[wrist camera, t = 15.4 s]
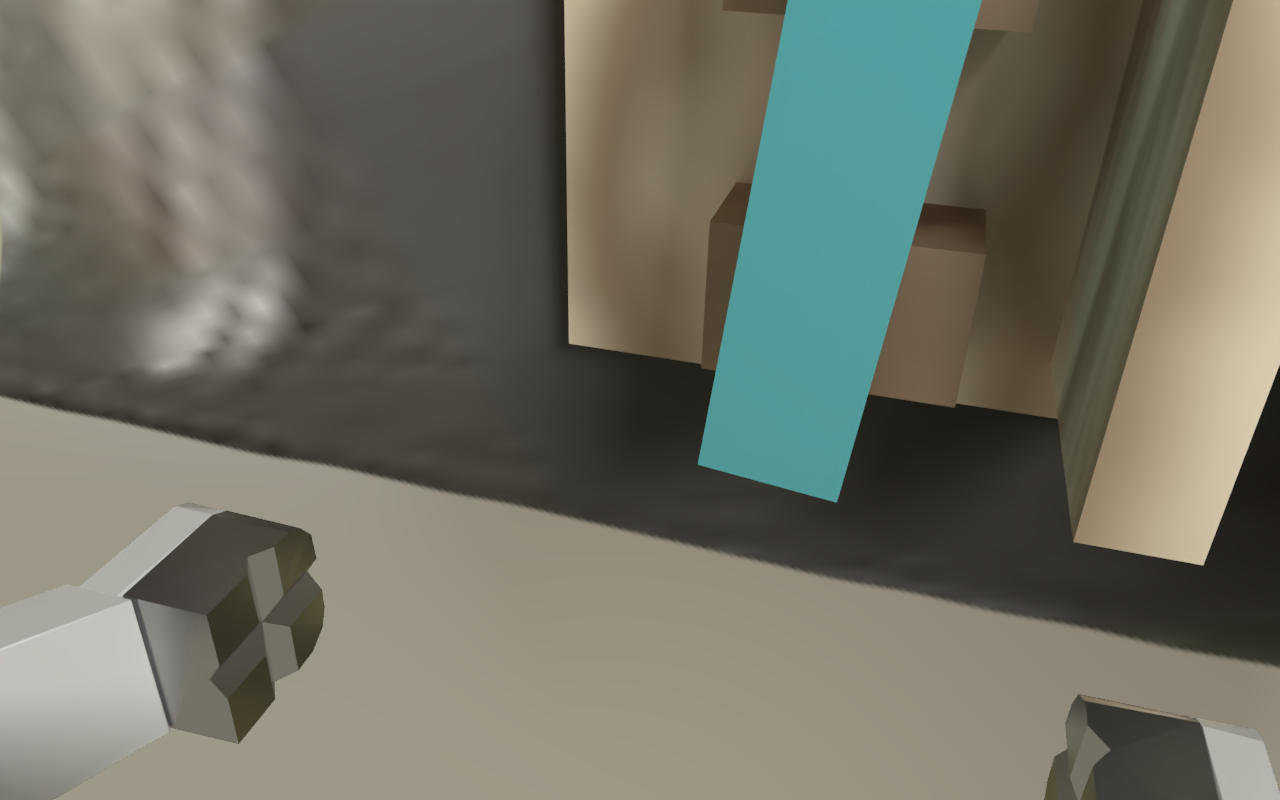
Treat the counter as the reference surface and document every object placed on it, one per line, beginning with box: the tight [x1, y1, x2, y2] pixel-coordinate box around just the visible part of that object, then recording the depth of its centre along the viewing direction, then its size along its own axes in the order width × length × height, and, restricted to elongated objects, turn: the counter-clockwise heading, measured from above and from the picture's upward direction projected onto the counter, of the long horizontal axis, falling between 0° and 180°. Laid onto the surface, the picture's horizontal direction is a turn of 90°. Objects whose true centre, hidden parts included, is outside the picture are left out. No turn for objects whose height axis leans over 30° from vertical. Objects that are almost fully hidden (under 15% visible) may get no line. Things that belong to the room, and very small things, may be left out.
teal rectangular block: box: [698, 0, 982, 503], centre depth 26 cm, size 4×16×5 cm, turn 172°
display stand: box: [564, 0, 1280, 565], centre depth 28 cm, size 20×20×12 cm
